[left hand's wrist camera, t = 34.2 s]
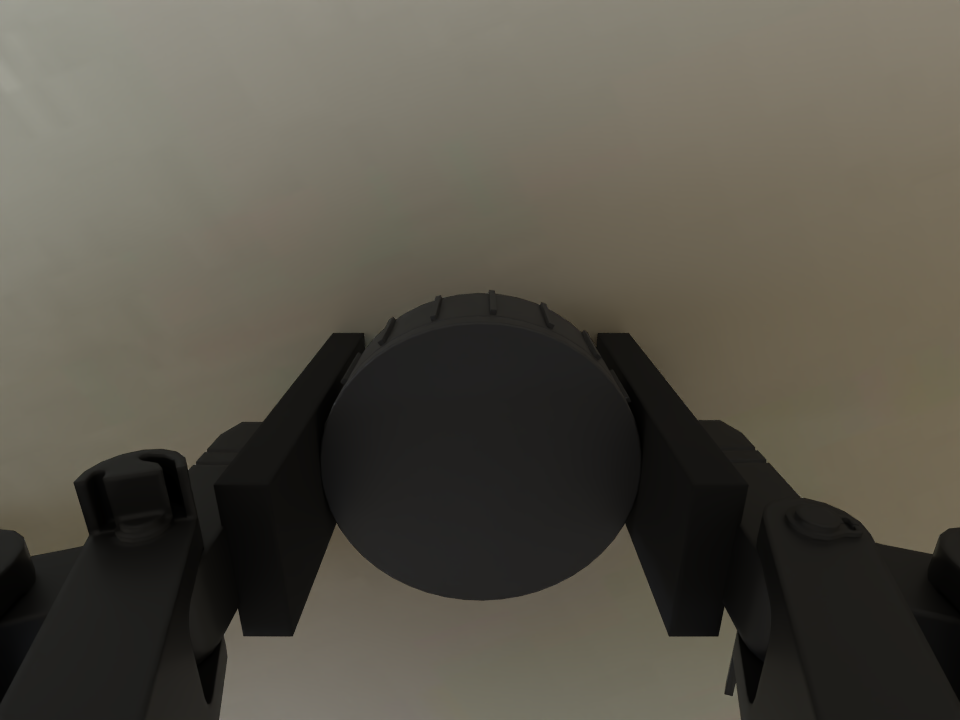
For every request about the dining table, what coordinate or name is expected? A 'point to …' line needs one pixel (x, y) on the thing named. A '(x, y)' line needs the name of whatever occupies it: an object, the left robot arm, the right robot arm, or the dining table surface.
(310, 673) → the dining table surface
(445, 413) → the lid
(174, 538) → the left robot arm
